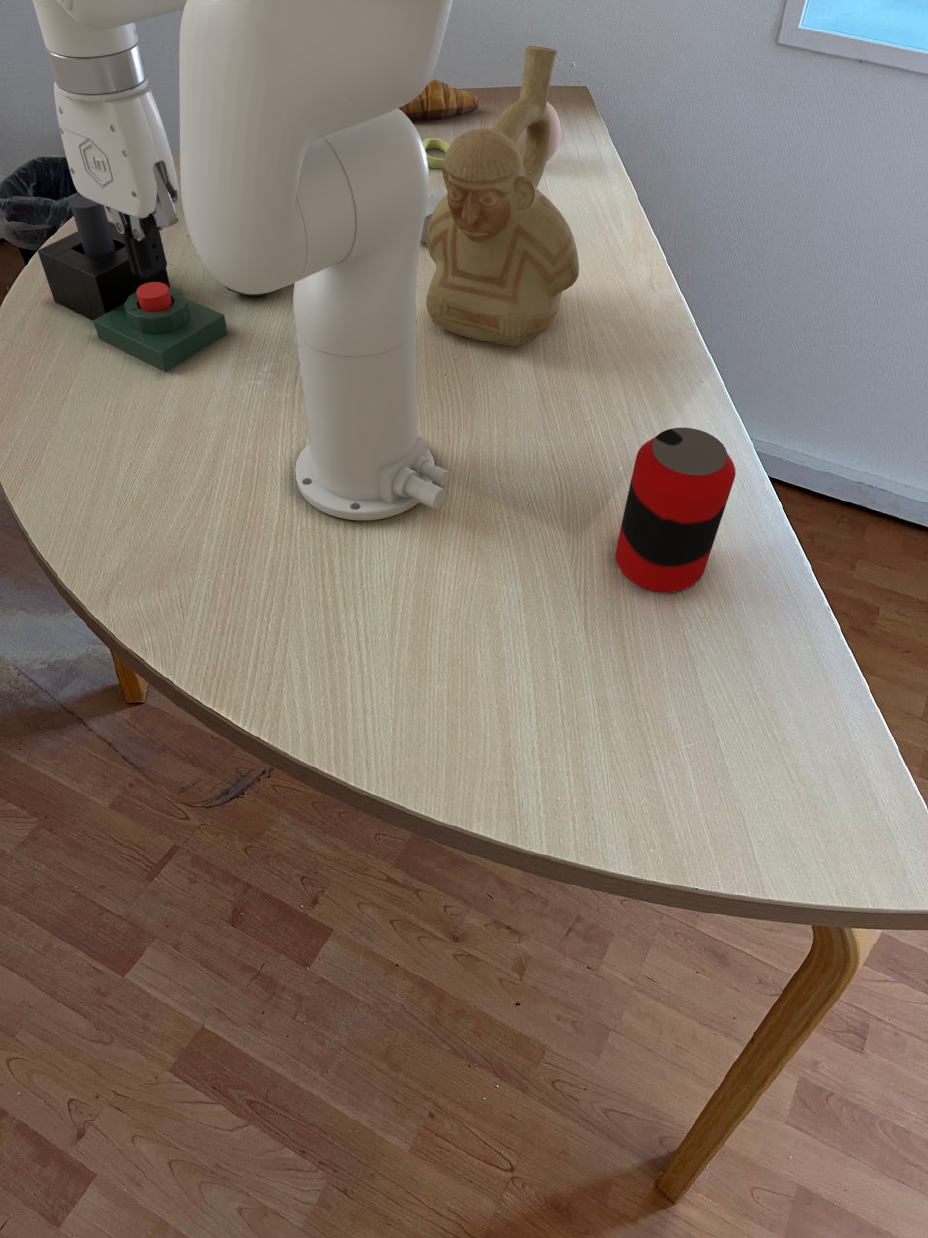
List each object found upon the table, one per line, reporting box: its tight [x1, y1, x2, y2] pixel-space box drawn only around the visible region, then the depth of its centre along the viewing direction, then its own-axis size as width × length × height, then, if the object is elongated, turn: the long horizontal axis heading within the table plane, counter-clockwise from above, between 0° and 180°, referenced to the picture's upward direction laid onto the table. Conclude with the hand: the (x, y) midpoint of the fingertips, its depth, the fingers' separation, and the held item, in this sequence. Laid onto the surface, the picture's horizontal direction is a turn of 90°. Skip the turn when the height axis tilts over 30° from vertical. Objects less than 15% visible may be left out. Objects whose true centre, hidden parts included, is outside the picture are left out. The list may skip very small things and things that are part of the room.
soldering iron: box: [69, 194, 116, 261], centre depth 99 cm, size 3×3×11 cm
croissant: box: [398, 79, 479, 121], centre depth 137 cm, size 14×7×5 cm, turn 111°
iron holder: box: [37, 220, 171, 322], centre depth 101 cm, size 9×9×6 cm
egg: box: [515, 101, 562, 162], centre depth 126 cm, size 7×7×8 cm
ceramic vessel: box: [425, 45, 580, 348], centre depth 94 cm, size 17×20×25 cm
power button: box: [136, 282, 172, 312], centre depth 95 cm, size 3×3×2 cm
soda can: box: [614, 427, 736, 593], centre depth 74 cm, size 8×8×12 cm
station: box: [93, 286, 228, 372], centre depth 97 cm, size 10×9×4 cm
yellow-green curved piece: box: [422, 137, 451, 170], centre depth 128 cm, size 7×12×2 cm, turn 113°
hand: (150, 270), depth 93 cm, fingers closed
